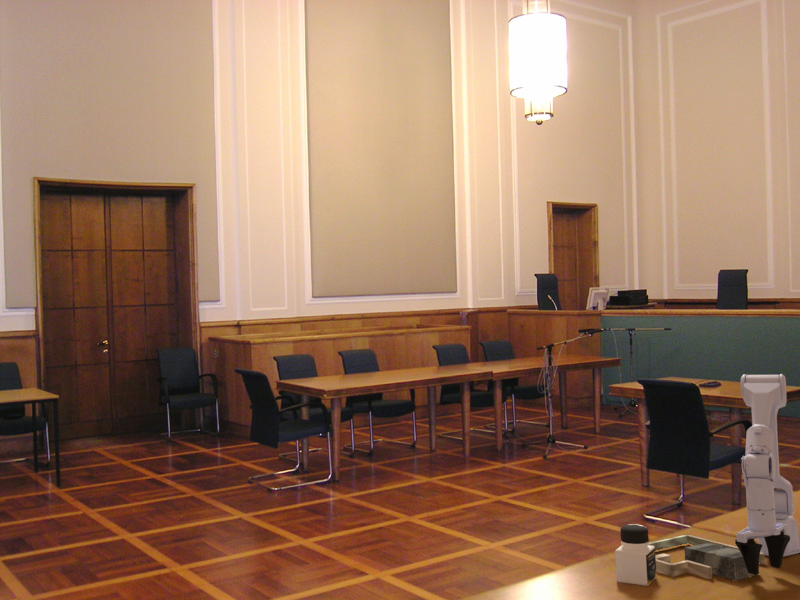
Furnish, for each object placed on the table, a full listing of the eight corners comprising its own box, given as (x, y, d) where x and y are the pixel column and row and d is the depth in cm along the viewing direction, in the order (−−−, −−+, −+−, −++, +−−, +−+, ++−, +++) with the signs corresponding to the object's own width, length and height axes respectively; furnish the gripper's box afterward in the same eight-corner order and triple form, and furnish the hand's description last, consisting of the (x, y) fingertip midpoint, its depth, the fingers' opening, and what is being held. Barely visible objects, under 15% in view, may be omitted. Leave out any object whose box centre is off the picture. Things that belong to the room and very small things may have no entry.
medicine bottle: (648, 586, 179) (645, 531, 180) (616, 582, 183) (613, 528, 183) (656, 577, 185) (654, 523, 186) (625, 573, 189) (623, 521, 189)
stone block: (711, 561, 197) (710, 539, 197) (762, 576, 184) (761, 552, 185) (684, 567, 193) (683, 544, 193) (735, 582, 180) (734, 558, 180)
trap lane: (687, 544, 212) (687, 534, 212) (765, 564, 192) (764, 553, 192) (618, 559, 200) (617, 549, 200) (693, 583, 180) (692, 571, 180)
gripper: (754, 516, 175) (758, 580, 174) (798, 506, 182) (801, 568, 181) (727, 510, 181) (730, 572, 180) (770, 501, 188) (773, 561, 187)
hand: (764, 570), depth 181 cm, fingers open, 7 cm apart
